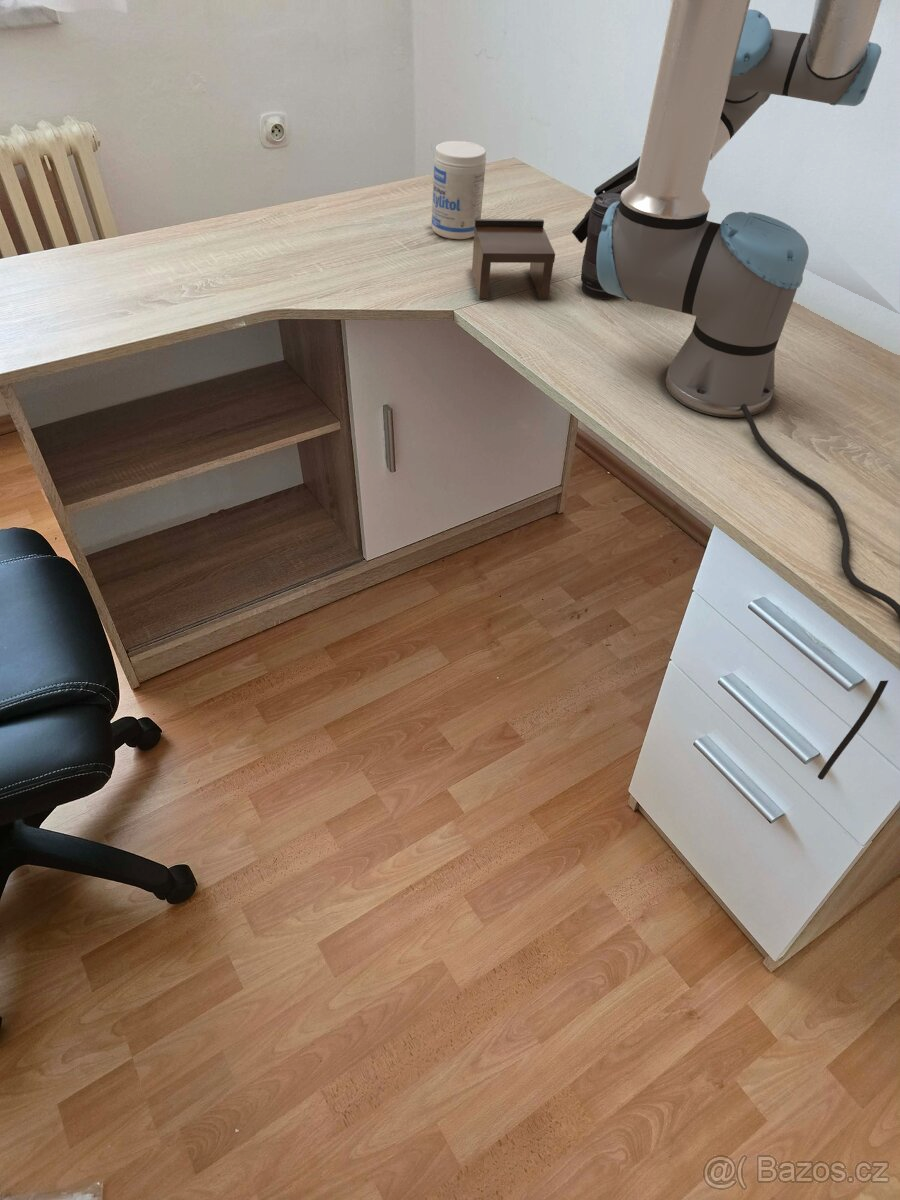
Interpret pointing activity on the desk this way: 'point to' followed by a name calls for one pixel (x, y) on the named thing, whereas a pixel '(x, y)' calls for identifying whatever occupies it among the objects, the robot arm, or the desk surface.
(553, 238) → the desk surface
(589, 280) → the camera lens
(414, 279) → the desk surface
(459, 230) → the supplement tub
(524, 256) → the block
